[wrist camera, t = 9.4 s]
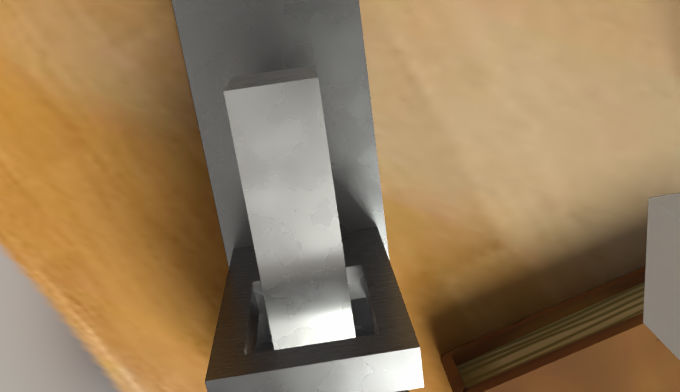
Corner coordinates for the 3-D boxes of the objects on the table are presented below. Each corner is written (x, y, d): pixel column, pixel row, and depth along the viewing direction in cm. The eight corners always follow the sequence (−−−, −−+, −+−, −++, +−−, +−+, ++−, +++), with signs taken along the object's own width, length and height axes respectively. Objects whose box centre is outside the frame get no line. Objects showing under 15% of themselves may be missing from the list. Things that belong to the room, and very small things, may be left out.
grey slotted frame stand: (148, -125, 32) (38, -206, 18) (339, -150, 33) (376, -250, 19) (267, 435, 44) (256, 647, 30) (405, 412, 45) (459, 613, 30)
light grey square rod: (229, 77, 30) (219, 92, 26) (317, 64, 30) (321, 77, 26) (309, 495, 39) (311, 555, 35) (377, 484, 39) (388, 543, 35)
